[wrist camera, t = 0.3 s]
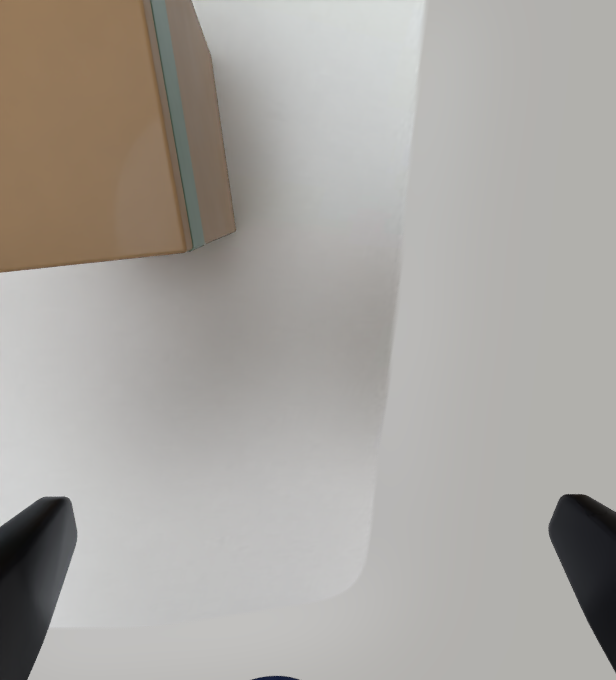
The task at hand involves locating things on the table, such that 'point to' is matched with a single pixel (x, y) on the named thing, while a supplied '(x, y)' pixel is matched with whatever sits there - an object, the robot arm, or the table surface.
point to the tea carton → (107, 133)
